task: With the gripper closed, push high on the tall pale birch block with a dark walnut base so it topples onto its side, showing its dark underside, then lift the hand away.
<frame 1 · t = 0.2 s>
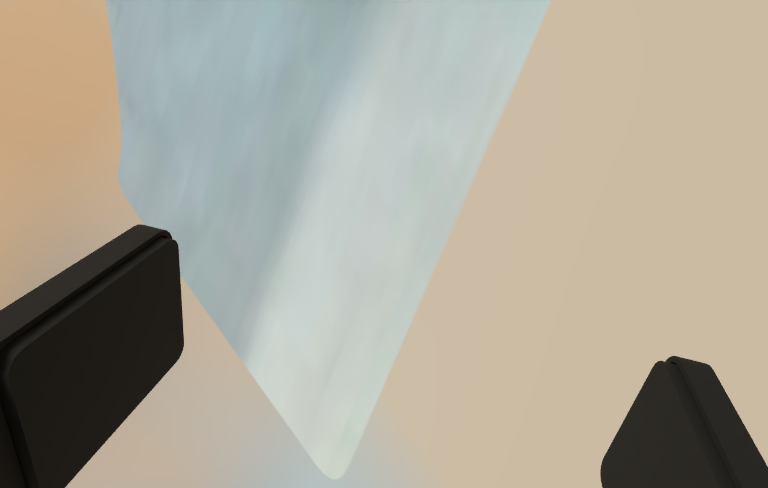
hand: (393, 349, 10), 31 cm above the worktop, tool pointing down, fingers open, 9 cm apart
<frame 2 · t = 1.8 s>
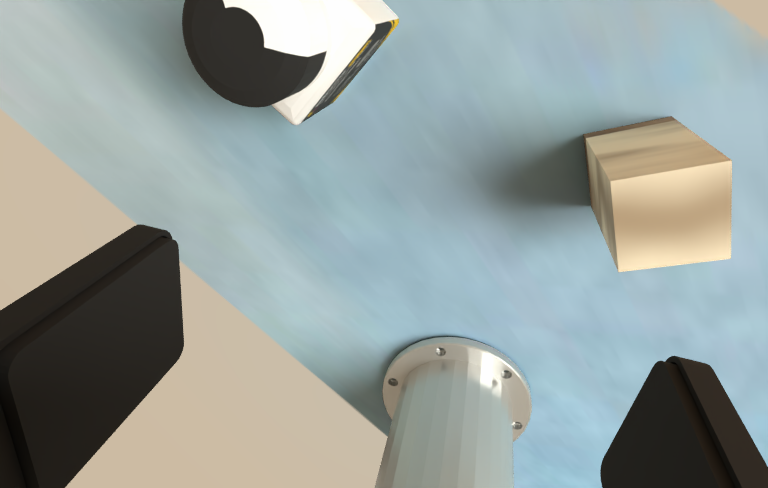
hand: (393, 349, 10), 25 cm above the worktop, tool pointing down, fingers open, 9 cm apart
birch block: (629, 163, 31), on the worktop
medicine bottle: (325, 23, 32), on the worktop
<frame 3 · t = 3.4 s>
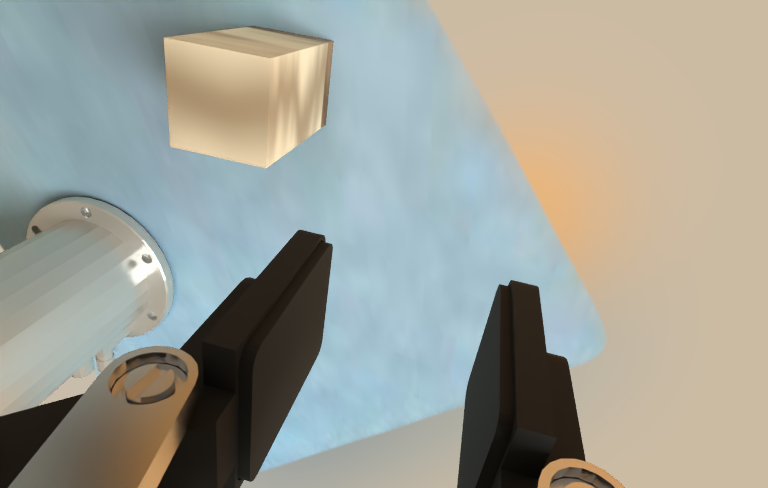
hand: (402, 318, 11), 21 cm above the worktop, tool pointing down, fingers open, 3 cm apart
birch block: (290, 76, 30), on the worktop
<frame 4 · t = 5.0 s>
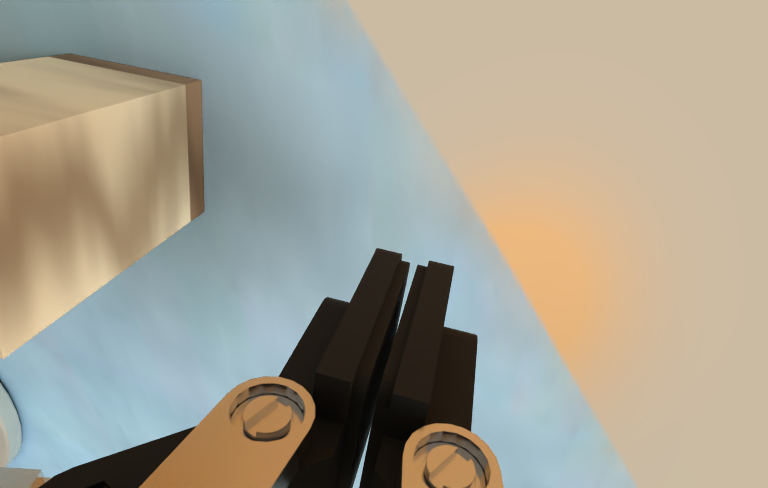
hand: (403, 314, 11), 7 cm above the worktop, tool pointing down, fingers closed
birch block: (140, 136, 18), on the worktop
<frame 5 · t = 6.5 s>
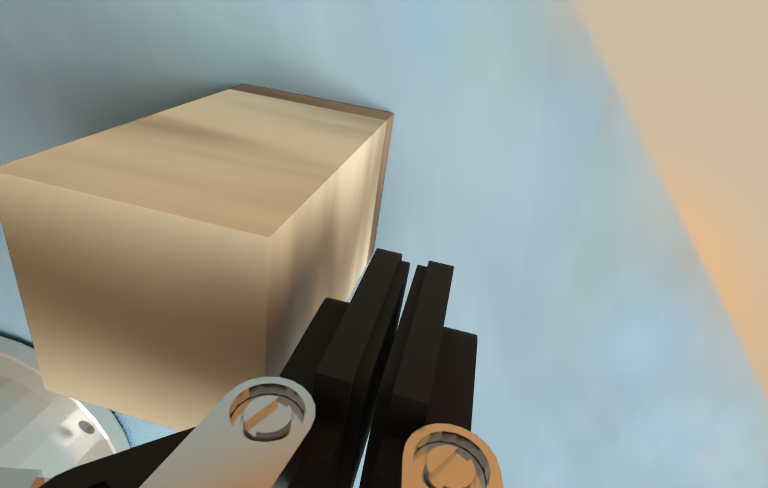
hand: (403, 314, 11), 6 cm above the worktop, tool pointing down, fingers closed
birch block: (312, 172, 17), on the worktop, touching gripper
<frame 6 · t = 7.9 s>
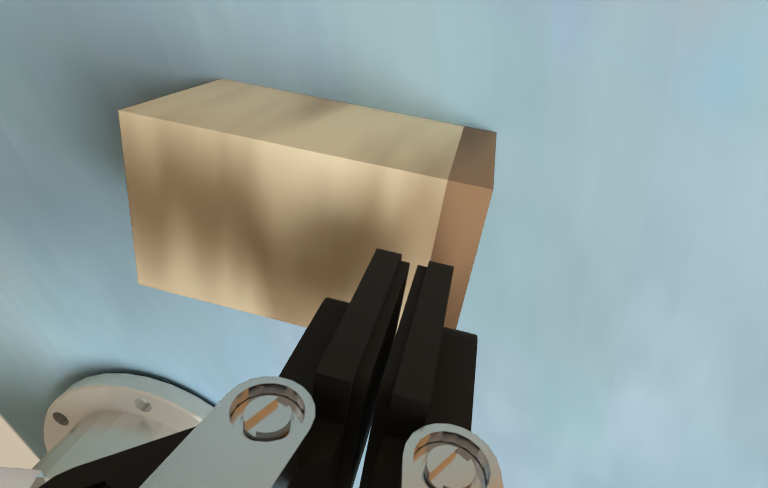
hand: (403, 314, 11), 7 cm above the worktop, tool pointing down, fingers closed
birch block: (473, 239, 14), point 2 cm above the worktop, tilted 90°
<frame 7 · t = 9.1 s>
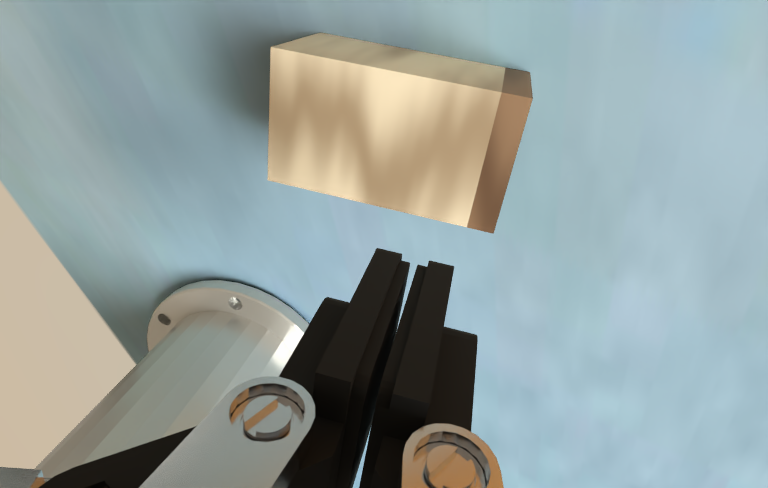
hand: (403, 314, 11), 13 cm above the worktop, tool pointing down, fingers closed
birch block: (512, 149, 19), point 2 cm above the worktop, tilted 90°
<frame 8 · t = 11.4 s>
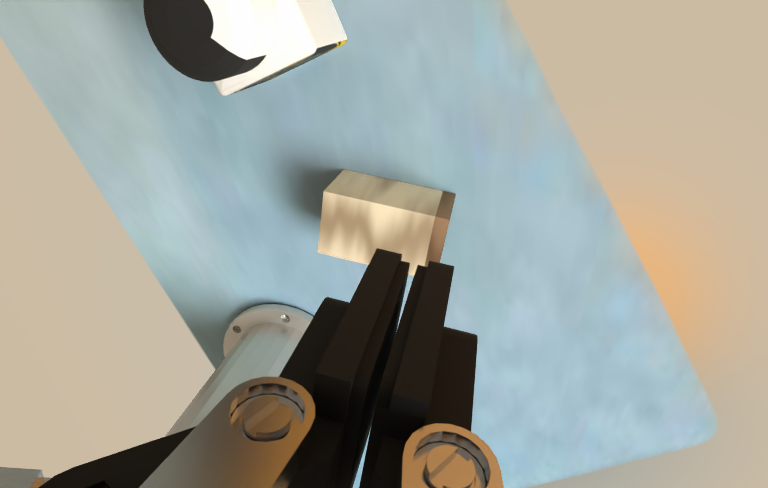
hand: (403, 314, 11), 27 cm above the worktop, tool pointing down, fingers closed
birch block: (445, 236, 37), point 2 cm above the worktop, tilted 90°
medicine bottle: (285, 12, 35), on the worktop
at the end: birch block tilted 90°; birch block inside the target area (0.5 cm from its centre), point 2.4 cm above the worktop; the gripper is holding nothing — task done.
